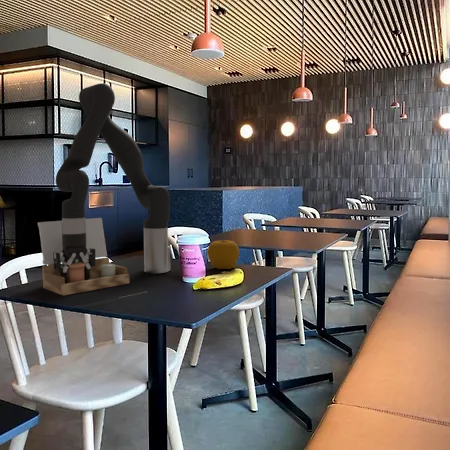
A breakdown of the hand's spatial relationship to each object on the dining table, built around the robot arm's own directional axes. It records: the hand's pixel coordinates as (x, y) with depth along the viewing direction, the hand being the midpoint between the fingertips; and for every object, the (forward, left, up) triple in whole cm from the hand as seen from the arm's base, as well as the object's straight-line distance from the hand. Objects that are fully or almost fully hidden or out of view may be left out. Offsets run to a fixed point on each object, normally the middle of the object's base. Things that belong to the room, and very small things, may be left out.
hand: (75, 281), depth 162 cm
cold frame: (-4, -2, -3) cm, 5 cm away
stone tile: (-9, +14, -3) cm, 17 cm away
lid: (-4, -8, +13) cm, 15 cm away
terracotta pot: (0, 0, -2) cm, 2 cm away
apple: (-60, +8, -3) cm, 61 cm away
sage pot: (-12, +1, -2) cm, 12 cm away
